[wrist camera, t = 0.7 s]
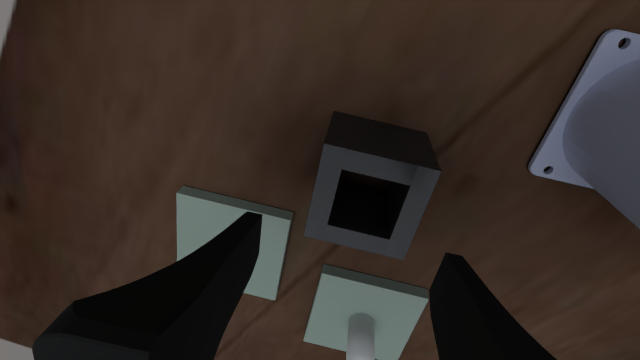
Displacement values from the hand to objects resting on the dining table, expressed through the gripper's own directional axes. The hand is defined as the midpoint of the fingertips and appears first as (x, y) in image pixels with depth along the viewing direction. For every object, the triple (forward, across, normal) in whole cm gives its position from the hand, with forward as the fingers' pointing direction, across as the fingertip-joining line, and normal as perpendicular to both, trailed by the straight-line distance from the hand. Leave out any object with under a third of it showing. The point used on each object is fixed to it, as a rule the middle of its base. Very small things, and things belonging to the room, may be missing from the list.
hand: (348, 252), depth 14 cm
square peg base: (+9, +8, +9) cm, 15 cm away
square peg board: (+9, -3, +14) cm, 17 cm away
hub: (+9, -1, 0) cm, 9 cm away
